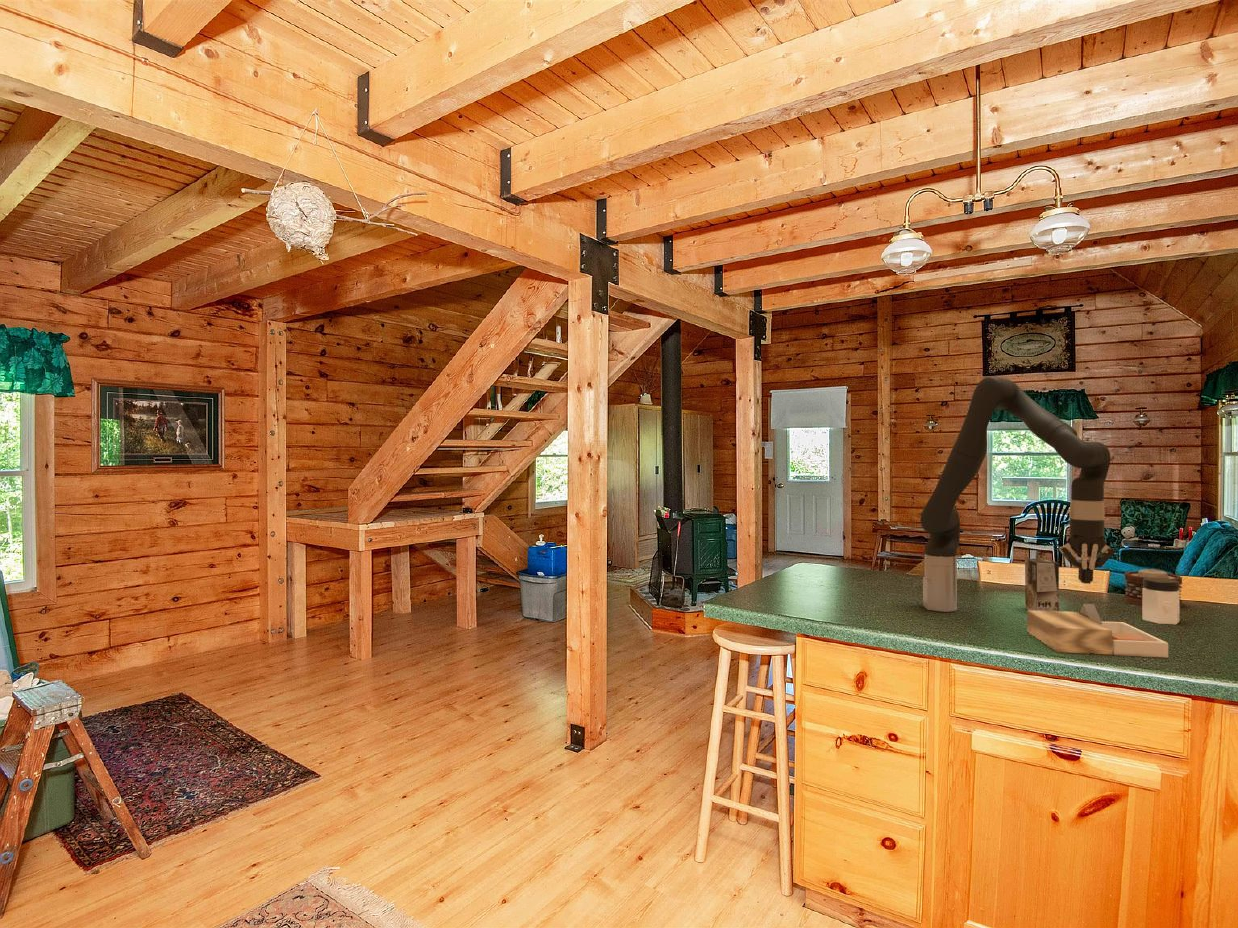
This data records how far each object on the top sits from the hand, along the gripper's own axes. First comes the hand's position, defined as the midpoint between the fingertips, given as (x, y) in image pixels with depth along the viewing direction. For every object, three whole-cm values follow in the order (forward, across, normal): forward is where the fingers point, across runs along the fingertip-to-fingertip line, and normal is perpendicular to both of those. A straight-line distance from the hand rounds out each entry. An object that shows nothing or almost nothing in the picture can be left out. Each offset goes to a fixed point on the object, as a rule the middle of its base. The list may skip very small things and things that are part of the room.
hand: (1085, 582), depth 175 cm
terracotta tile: (+12, +6, -6) cm, 15 cm away
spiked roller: (+15, +40, +49) cm, 65 cm away
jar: (+15, +30, +25) cm, 42 cm away
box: (+15, +6, -4) cm, 17 cm away
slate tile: (+10, +1, +2) cm, 11 cm away
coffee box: (+16, +1, +31) cm, 35 cm away
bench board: (+15, -6, -4) cm, 17 cm away
